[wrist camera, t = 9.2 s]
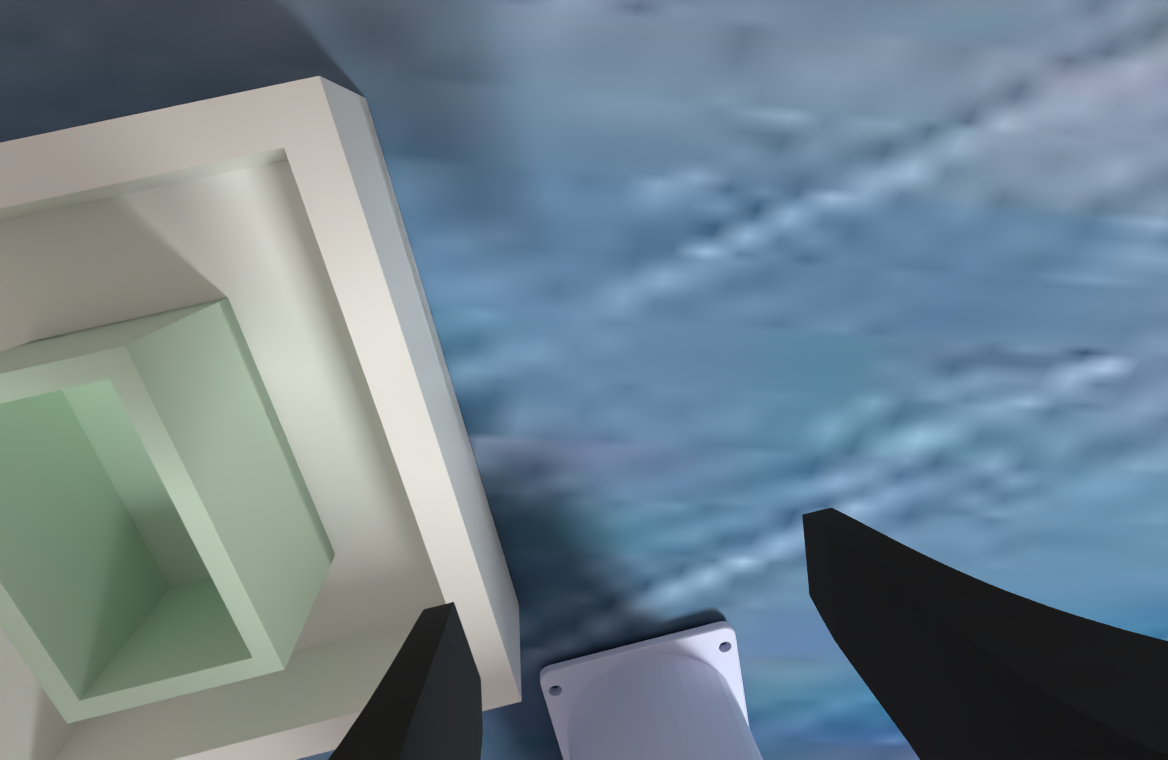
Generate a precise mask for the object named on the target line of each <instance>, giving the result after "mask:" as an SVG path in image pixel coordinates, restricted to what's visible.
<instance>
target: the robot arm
mask: <svg viewBox="0 0 1168 760" xmlns="http://www.w3.org/2000/svg"><path fill="white" fill-rule="evenodd" d="M802 516H803V527H804V538H805V549H806V560H807V572H808V583H809V594H810V597H811V599H812V601H813V602H814V604H815V606H816V608H817V610H818V612H819V613H820V615H821V617H822V619H823V621H824V623H825V624H826V626H827V628H828V630H829V631H830V633H831V635H832V637H833V638H834V640H835V642H836V643H837V644H838V646H839V647H840V649H841V650H842V651H843V653H844V654H845V656H846V657H847V658H848V660H849V661H850V663H851V664H852V665H853V667H854V668H855V670H856V671H857V672H858V674H859V675H860V676H861V678H862V679H863V681H864V682H865V683H866V685H867V686H868V687H869V689H870V690H871V692H872V693H873V694H874V696H875V697H876V698H877V700H878V701H879V702H880V704H881V705H882V707H883V708H884V709H885V711H886V712H887V713H888V715H889V716H890V718H891V719H892V720H893V722H894V723H895V724H896V726H897V727H898V729H899V730H900V731H901V733H902V734H903V735H904V737H905V738H906V739H907V741H908V742H909V744H910V745H911V747H912V748H913V750H914V751H915V753H916V754H917V756H918V757H919V759H920V760H1168V641H1165V640H1161V639H1157V638H1153V637H1149V636H1145V635H1142V634H1138V633H1134V632H1130V631H1127V630H1123V629H1120V628H1116V627H1113V626H1109V625H1106V624H1103V623H1099V622H1096V621H1093V620H1089V619H1086V618H1083V617H1079V616H1076V615H1073V614H1070V613H1067V612H1064V611H1061V610H1058V609H1055V608H1052V607H1049V606H1046V605H1043V604H1041V603H1038V602H1035V601H1032V600H1030V599H1027V598H1024V597H1021V596H1019V595H1016V594H1013V593H1010V592H1008V591H1005V590H1003V589H1000V588H998V587H995V586H993V585H990V584H988V583H985V582H983V581H981V580H978V579H976V578H974V577H971V576H969V575H967V574H965V573H962V572H960V571H958V570H955V569H953V568H951V567H949V566H947V565H944V564H942V563H940V562H938V561H936V560H934V559H932V558H929V557H927V556H925V555H923V554H921V553H919V552H917V551H915V550H913V549H911V548H909V547H907V546H905V545H903V544H901V543H899V542H897V541H895V540H893V539H891V538H889V537H887V536H886V535H884V534H882V533H880V532H878V531H876V530H874V529H872V528H870V527H868V526H866V525H864V524H863V523H861V522H859V521H857V520H855V519H853V518H851V517H849V516H847V515H845V514H843V513H841V512H839V511H837V510H835V509H833V508H828V509H824V510H820V511H816V512H812V513H808V514H804V515H802ZM723 642H726V643H725V644H723V645H720V644H721V643H723ZM540 685H541V688H542V691H543V694H544V698H545V701H546V704H547V708H548V711H549V714H550V717H551V721H552V724H553V727H554V731H555V734H556V737H557V740H558V744H559V747H560V750H561V754H562V757H563V760H763V759H762V756H761V754H760V752H759V749H758V747H757V745H756V743H755V740H754V738H753V736H752V733H751V731H750V729H749V723H748V716H747V710H746V703H745V696H744V689H743V682H742V676H741V669H740V662H739V655H738V649H737V642H736V635H735V632H734V629H733V627H732V625H731V624H730V623H728V622H725V621H721V622H716V623H712V624H708V625H704V626H700V627H696V628H692V629H689V630H685V631H681V632H677V633H673V634H669V635H665V636H661V637H657V638H653V639H649V640H646V641H642V642H638V643H634V644H630V645H626V646H622V647H618V648H614V649H610V650H606V651H603V652H599V653H595V654H591V655H587V656H583V657H579V658H575V659H571V660H567V661H563V662H560V663H556V664H552V665H548V666H546V667H544V668H543V669H542V670H541V672H540ZM553 686H559V687H557V688H552V687H553ZM482 733H483V728H482V693H481V678H480V675H479V672H478V669H477V666H476V664H475V661H474V658H473V655H472V652H471V649H470V646H469V644H468V641H467V638H466V635H465V632H464V629H463V626H462V623H461V621H460V618H459V615H458V612H457V609H456V606H455V603H454V602H451V603H447V604H443V605H439V606H435V607H431V608H427V609H424V610H423V611H422V613H421V614H420V616H419V618H418V619H417V621H416V623H415V624H414V626H413V628H412V629H411V631H410V633H409V635H408V636H407V638H406V640H405V642H404V643H403V645H402V647H401V648H400V650H399V652H398V654H397V655H396V657H395V659H394V660H393V662H392V664H391V665H390V667H389V669H388V670H387V672H386V674H385V675H384V677H383V678H382V680H381V682H380V683H379V685H378V687H377V688H376V690H375V691H374V693H373V695H372V696H371V698H370V699H369V701H368V703H367V704H366V706H365V707H364V709H363V710H362V712H361V713H360V715H359V716H358V718H357V719H356V720H355V722H354V723H353V725H352V726H351V728H350V729H349V731H348V732H347V734H346V735H345V737H344V738H343V740H342V741H341V743H340V744H339V745H338V747H337V748H336V750H335V751H334V752H333V754H332V755H331V756H330V758H329V759H328V760H480V758H481V746H482Z"/></svg>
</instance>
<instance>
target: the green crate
mask: <svg viewBox="0 0 1168 760" xmlns="http://www.w3.org/2000/svg"><path fill="white" fill-rule="evenodd" d="M334 556H335V553H334V550H333V548H332V545H331V543H330V541H329V538H328V536H327V533H326V531H325V529H324V526H323V524H322V522H321V519H320V517H319V514H318V512H317V510H316V507H315V505H314V502H313V500H312V498H311V495H310V493H309V490H308V488H307V486H306V483H305V481H304V478H303V476H302V474H301V471H300V469H299V466H298V464H297V462H296V459H295V457H294V454H293V452H292V450H291V447H290V445H289V443H288V440H287V438H286V435H285V433H284V431H283V428H282V426H281V423H280V421H279V419H278V416H277V414H276V411H275V409H274V407H273V404H272V402H271V399H270V397H269V395H268V392H267V390H266V387H265V385H264V383H263V380H262V378H261V375H260V373H259V371H258V368H257V366H256V363H255V361H254V359H253V356H252V354H251V352H250V349H249V347H248V344H247V342H246V340H245V337H244V335H243V332H242V330H241V328H240V325H239V323H238V320H237V318H236V316H235V313H234V311H233V308H232V306H231V304H230V301H229V299H228V298H223V299H219V300H214V301H210V302H205V303H201V304H196V305H192V306H187V307H183V308H178V309H174V310H169V311H165V312H160V313H156V314H151V315H147V316H142V317H138V318H133V319H128V320H124V321H119V322H115V323H110V324H106V325H101V326H97V327H92V328H88V329H83V330H79V331H74V332H70V333H65V334H61V335H56V336H52V337H47V338H43V339H38V340H34V341H29V342H27V343H24V344H21V345H18V346H16V347H13V348H10V349H8V350H5V351H2V352H0V627H1V628H2V630H3V631H4V633H5V634H6V635H7V637H8V638H9V640H10V641H11V643H12V644H13V646H14V647H15V649H16V650H17V651H18V653H19V654H20V656H21V657H22V659H23V660H24V662H25V663H26V665H27V666H28V667H29V669H30V670H31V672H32V673H33V675H34V676H35V678H36V679H37V681H38V682H39V683H40V685H41V686H42V688H43V689H44V691H45V692H46V694H47V695H48V697H49V698H50V699H51V701H52V702H53V704H54V705H55V707H56V708H57V710H58V711H59V713H60V714H61V715H62V717H63V718H64V720H65V721H66V723H67V724H68V723H72V722H76V721H80V720H84V719H88V718H92V717H96V716H101V715H105V714H109V713H113V712H117V711H121V710H125V709H129V708H133V707H137V706H141V705H145V704H149V703H153V702H157V701H161V700H165V699H169V698H173V697H177V696H181V695H185V694H189V693H193V692H197V691H201V690H205V689H209V688H213V687H217V686H221V685H225V684H229V683H233V682H237V681H241V680H245V679H249V678H253V677H257V676H261V675H265V674H269V673H273V672H277V671H281V670H285V667H286V665H287V663H288V661H289V658H290V656H291V654H292V652H293V649H294V647H295V645H296V642H297V640H298V638H299V636H300V633H301V631H302V629H303V627H304V624H305V622H306V620H307V618H308V615H309V613H310V611H311V608H312V606H313V604H314V602H315V599H316V597H317V595H318V593H319V590H320V588H321V586H322V584H323V581H324V579H325V577H326V574H327V572H328V570H329V568H330V565H331V563H332V561H333V559H334Z"/></svg>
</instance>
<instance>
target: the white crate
mask: <svg viewBox="0 0 1168 760" xmlns="http://www.w3.org/2000/svg"><path fill="white" fill-rule="evenodd" d="M223 298H228V299H229V301H230V304H231V306H232V308H233V311H234V313H235V316H236V318H237V320H238V323H239V325H240V328H241V330H242V332H243V335H244V337H245V340H246V342H247V344H248V347H249V349H250V352H251V354H252V356H253V359H254V361H255V363H256V366H257V368H258V371H259V373H260V375H261V378H262V380H263V383H264V385H265V387H266V390H267V392H268V395H269V397H270V399H271V402H272V404H273V407H274V409H275V411H276V414H277V416H278V419H279V421H280V423H281V426H282V428H283V431H284V433H285V435H286V438H287V440H288V443H289V445H290V447H291V450H292V452H293V454H294V457H295V459H296V462H297V464H298V466H299V469H300V471H301V474H302V476H303V478H304V481H305V483H306V486H307V488H308V490H309V493H310V495H311V498H312V500H313V502H314V505H315V507H316V510H317V512H318V514H319V517H320V519H321V522H322V524H323V526H324V529H325V531H326V533H327V536H328V538H329V541H330V543H331V545H332V548H333V550H334V553H335V556H334V559H333V561H332V563H331V565H330V568H329V570H328V572H327V574H326V577H325V579H324V581H323V584H322V586H321V588H320V590H319V593H318V595H317V597H316V599H315V602H314V604H313V606H312V608H311V611H310V613H309V615H308V618H307V620H306V622H305V624H304V627H303V629H302V631H301V633H300V636H299V638H298V640H297V642H296V645H295V647H294V649H293V652H292V654H291V656H290V658H289V661H288V663H287V665H286V667H285V670H281V671H277V672H273V673H269V674H265V675H261V676H257V677H253V678H249V679H245V680H241V681H237V682H233V683H229V684H225V685H221V686H217V687H213V688H209V689H205V690H201V691H197V692H193V693H189V694H185V695H181V696H177V697H173V698H169V699H165V700H161V701H157V702H153V703H149V704H145V705H141V706H137V707H133V708H129V709H125V710H121V711H117V712H113V713H109V714H105V715H101V716H96V717H92V718H88V719H84V720H80V721H76V722H72V723H68V724H67V723H66V721H65V720H64V718H63V717H62V715H61V714H60V713H59V711H58V710H57V708H56V707H55V705H54V704H53V702H52V701H51V699H50V698H49V697H48V695H47V694H46V692H45V691H44V689H43V688H42V686H41V685H40V683H39V682H38V681H37V679H36V678H35V676H34V675H33V673H32V672H31V670H30V669H29V667H28V666H27V665H26V663H25V662H24V660H23V659H22V657H21V656H20V654H19V653H18V651H17V650H16V649H15V647H14V646H13V644H12V643H11V641H10V640H9V638H8V637H7V635H6V634H5V633H4V631H3V630H2V628H1V627H0V760H296V759H300V758H304V757H308V756H312V755H316V754H320V753H324V752H327V751H331V750H335V749H336V748H337V747H338V745H339V744H340V743H341V741H342V740H343V738H344V737H345V735H346V734H347V732H348V731H349V729H350V728H351V726H352V725H353V723H354V722H355V720H356V719H357V718H358V716H359V715H360V713H361V712H362V710H363V709H364V707H365V706H366V704H367V703H368V701H369V699H370V698H371V696H372V695H373V693H374V691H375V690H376V688H377V687H378V685H379V683H380V682H381V680H382V678H383V677H384V675H385V674H386V672H387V670H388V669H389V667H390V665H391V664H392V662H393V660H394V659H395V657H396V655H397V654H398V652H399V650H400V648H401V647H402V645H403V643H404V642H405V640H406V638H407V636H408V635H409V633H410V631H411V629H412V628H413V626H414V624H415V623H416V621H417V619H418V618H419V616H420V614H421V613H422V611H423V610H424V609H427V608H431V607H435V606H439V605H443V604H447V603H451V602H454V603H455V606H456V609H457V612H458V615H459V618H460V621H461V623H462V626H463V629H464V632H465V635H466V638H467V641H468V644H469V646H470V649H471V652H472V655H473V658H474V661H475V664H476V666H477V669H478V672H479V675H480V678H481V693H482V711H486V710H490V709H494V708H498V707H502V706H506V705H510V704H513V703H517V702H521V701H522V700H521V664H520V628H519V603H518V600H517V597H516V593H515V590H514V587H513V583H512V580H511V577H510V573H509V570H508V567H507V564H506V560H505V557H504V554H503V550H502V547H501V544H500V540H499V537H498V534H497V530H496V527H495V524H494V521H493V517H492V514H491V511H490V507H489V504H488V501H487V497H486V494H485V491H484V487H483V484H482V481H481V478H480V474H479V471H478V468H477V464H476V461H475V458H474V454H473V451H472V448H471V444H470V441H469V438H468V435H467V431H466V428H465V425H464V421H463V418H462V415H461V411H460V408H459V405H458V402H457V398H456V395H455V392H454V388H453V385H452V382H451V378H450V375H449V372H448V368H447V365H446V362H445V359H444V355H443V352H442V349H441V345H440V342H439V339H438V335H437V332H436V329H435V325H434V322H433V319H432V316H431V312H430V309H429V306H428V302H427V299H426V296H425V292H424V289H423V286H422V282H421V279H420V276H419V273H418V269H417V266H416V263H415V259H414V256H413V253H412V249H411V246H410V243H409V239H408V236H407V233H406V230H405V226H404V223H403V220H402V216H401V213H400V210H399V206H398V203H397V200H396V196H395V193H394V190H393V187H392V183H391V180H390V177H389V173H388V170H387V167H386V163H385V160H384V157H383V153H382V150H381V147H380V144H379V140H378V137H377V134H376V130H375V127H374V124H373V120H372V117H371V114H370V111H369V107H368V104H367V101H366V98H365V97H363V96H360V95H358V94H356V93H354V92H352V91H350V90H348V89H346V88H344V87H342V86H340V85H338V84H335V83H333V82H331V81H329V80H327V79H325V78H323V77H321V76H315V77H311V78H306V79H301V80H296V81H292V82H287V83H282V84H277V85H273V86H268V87H263V88H258V89H253V90H249V91H244V92H239V93H234V94H230V95H225V96H220V97H215V98H211V99H206V100H201V101H196V102H192V103H187V104H182V105H177V106H172V107H168V108H163V109H158V110H153V111H149V112H144V113H139V114H134V115H130V116H125V117H120V118H115V119H111V120H106V121H101V122H96V123H91V124H87V125H82V126H77V127H72V128H68V129H63V130H58V131H53V132H49V133H44V134H39V135H34V136H29V137H25V138H20V139H15V140H10V141H6V142H1V143H0V352H2V351H5V350H8V349H10V348H13V347H16V346H18V345H21V344H24V343H27V342H29V341H34V340H38V339H43V338H47V337H52V336H56V335H61V334H65V333H70V332H74V331H79V330H83V329H88V328H92V327H97V326H101V325H106V324H110V323H115V322H119V321H124V320H128V319H133V318H138V317H142V316H147V315H151V314H156V313H160V312H165V311H169V310H174V309H178V308H183V307H187V306H192V305H196V304H201V303H205V302H210V301H214V300H219V299H223Z"/></svg>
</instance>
